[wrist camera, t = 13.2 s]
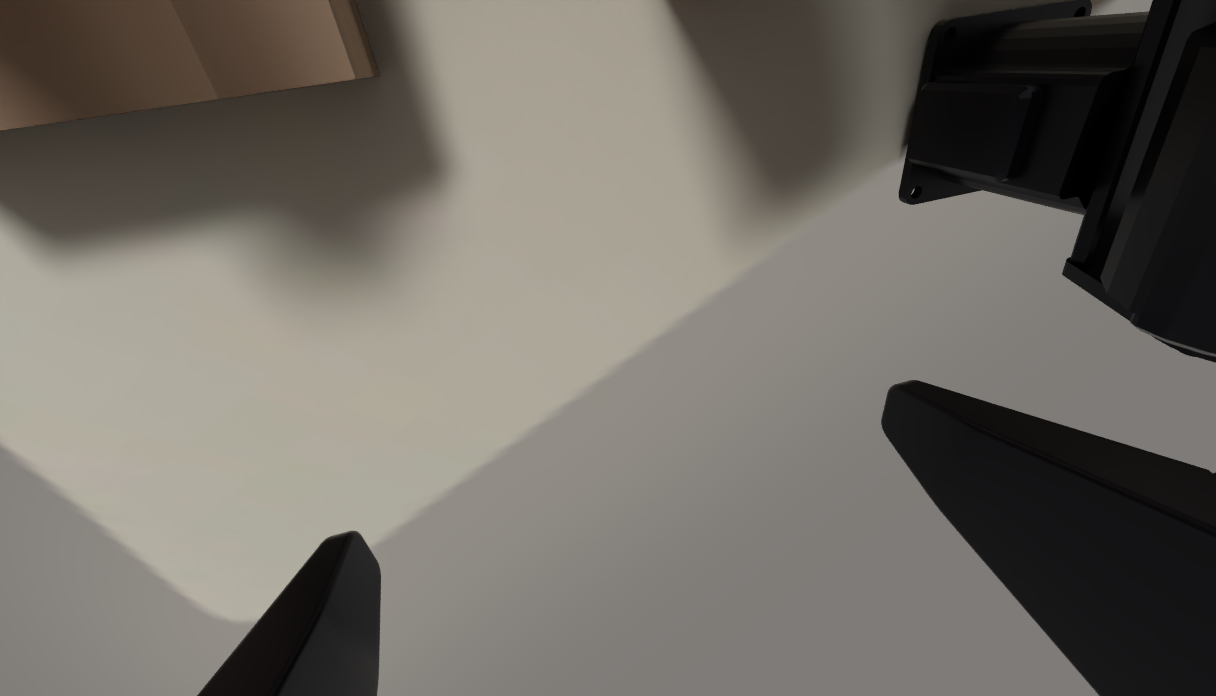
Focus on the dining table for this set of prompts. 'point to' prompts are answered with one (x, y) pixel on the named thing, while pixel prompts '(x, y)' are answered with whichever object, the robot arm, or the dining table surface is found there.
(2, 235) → the dining table surface
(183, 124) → the dining table surface
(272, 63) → the socket block
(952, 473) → the robot arm
